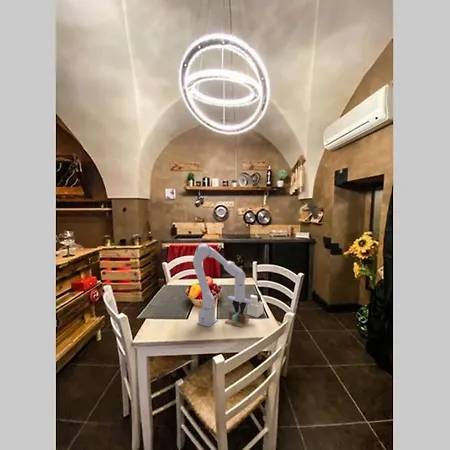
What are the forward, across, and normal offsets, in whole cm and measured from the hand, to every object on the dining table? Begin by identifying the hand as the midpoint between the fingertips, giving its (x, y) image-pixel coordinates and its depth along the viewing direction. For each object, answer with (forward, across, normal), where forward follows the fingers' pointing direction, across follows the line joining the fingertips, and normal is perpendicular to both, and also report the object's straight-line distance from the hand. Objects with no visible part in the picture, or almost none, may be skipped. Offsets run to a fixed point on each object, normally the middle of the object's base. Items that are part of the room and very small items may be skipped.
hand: (239, 314), depth 147 cm
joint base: (+3, 0, +3) cm, 4 cm away
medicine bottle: (+3, -5, -11) cm, 13 cm away
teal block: (+2, 0, +2) cm, 3 cm away
